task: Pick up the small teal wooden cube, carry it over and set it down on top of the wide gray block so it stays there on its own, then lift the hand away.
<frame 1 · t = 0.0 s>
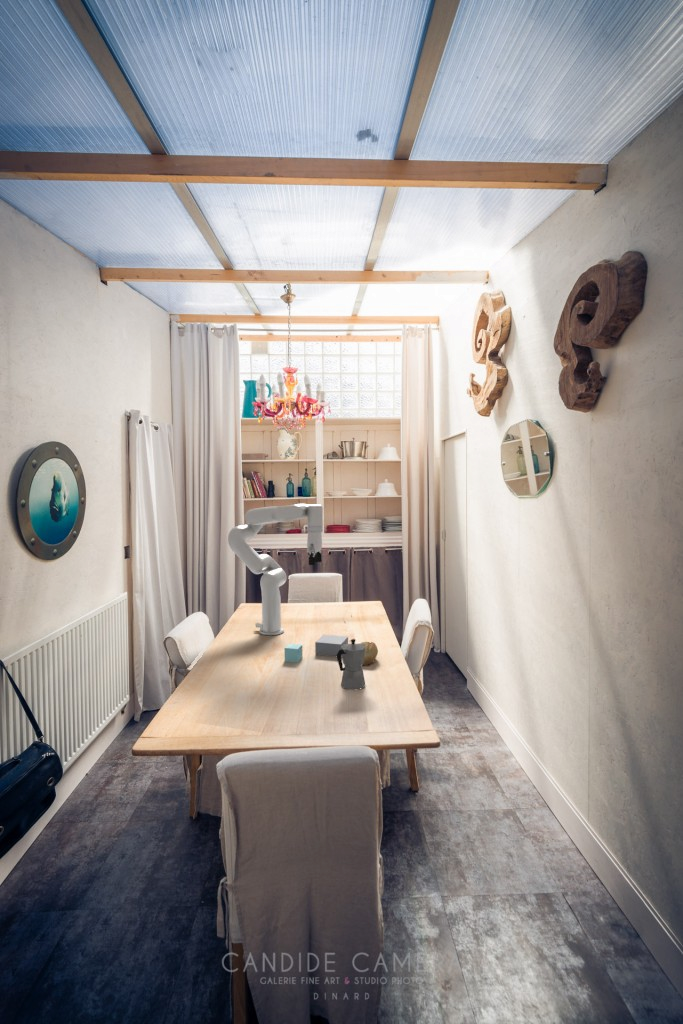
hand: (315, 563, 265), 37 cm above the table, tool pointing down, fingers open, 9 cm apart
teal cube: (293, 659, 233), on the table
coffeepot: (351, 686, 203), on the table
gray block: (332, 652, 244), on the table
bread roll: (366, 661, 232), on the table
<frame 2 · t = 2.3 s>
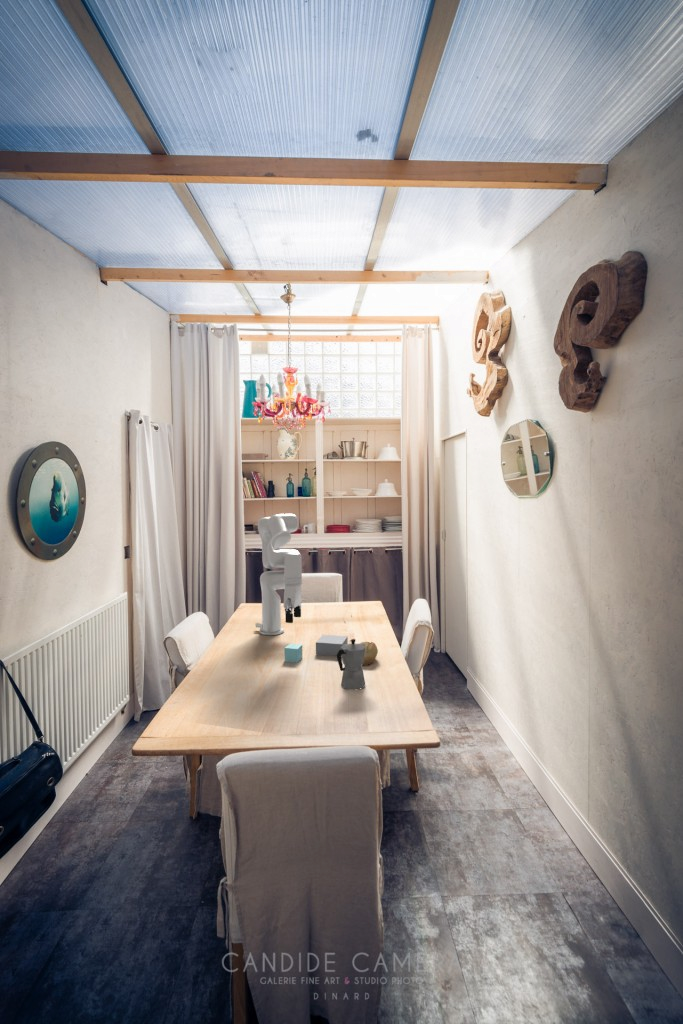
hand: (293, 619, 231), 18 cm above the table, tool pointing down, fingers open, 9 cm apart
nothing on the table moved.
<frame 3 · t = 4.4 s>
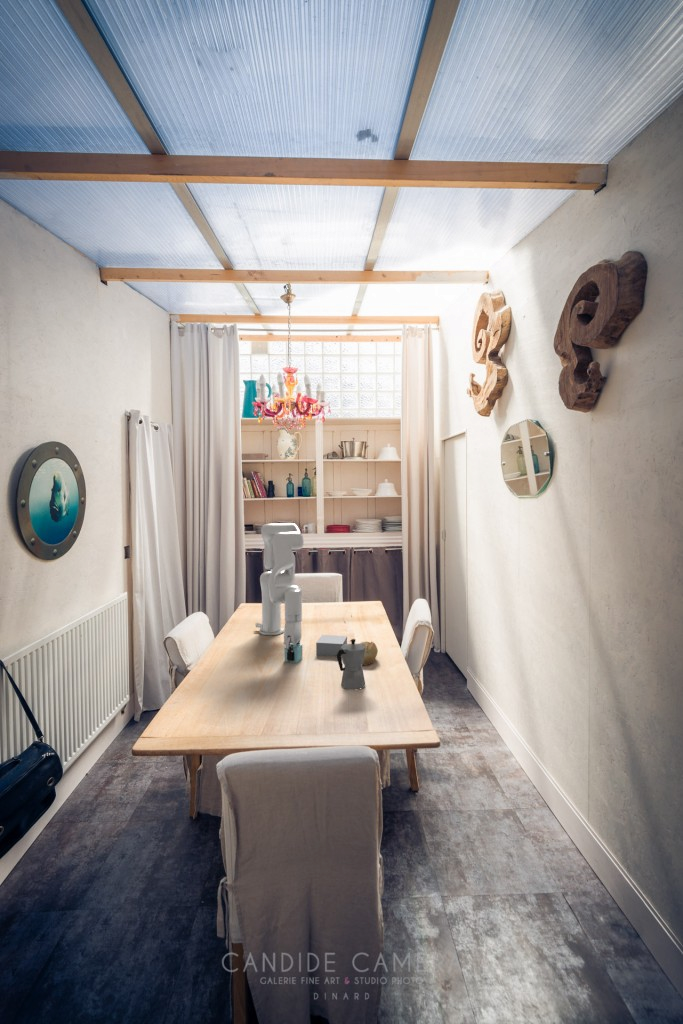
hand: (293, 657, 233), 1 cm above the table, tool pointing down, fingers closed on teal cube, 6 cm apart
teal cube: (293, 659, 233), on the table, touching gripper
everything else where it was.
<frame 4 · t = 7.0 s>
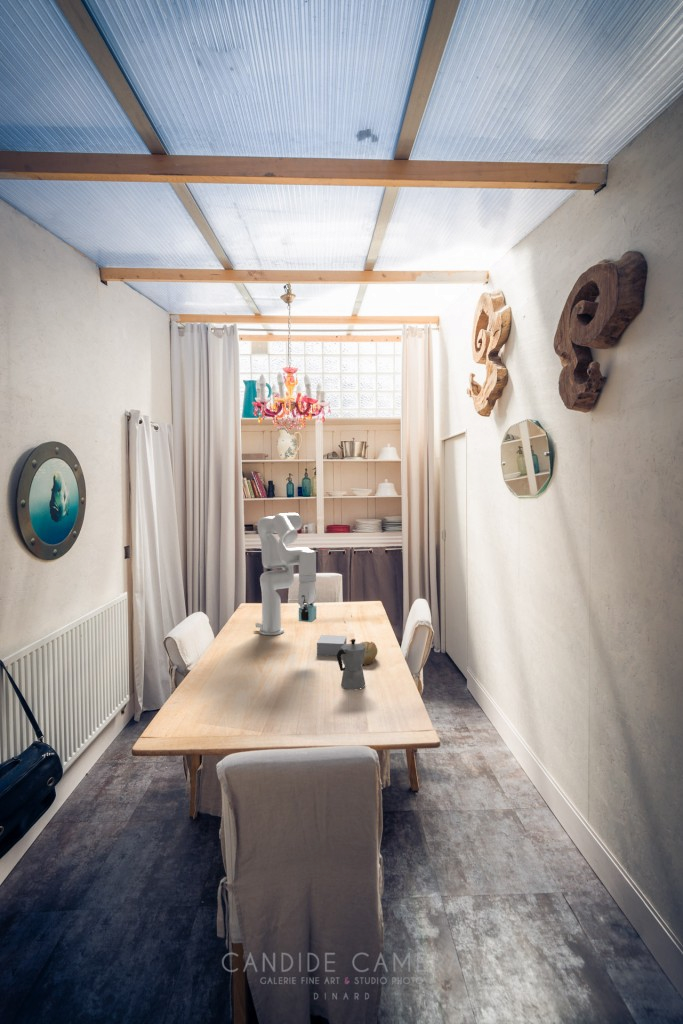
hand: (307, 618, 236), 17 cm above the table, tool pointing down, fingers closed on teal cube, 6 cm apart
teal cube: (307, 620, 236), point 16 cm above the table, touching gripper
everything else where it was.
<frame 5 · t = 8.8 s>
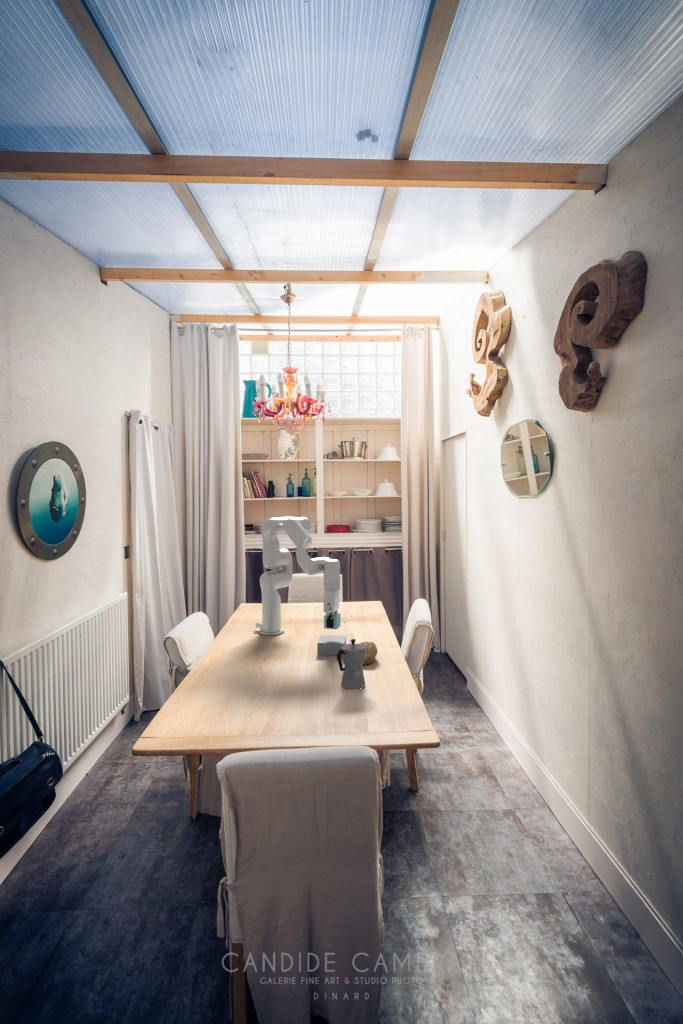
hand: (332, 625, 243), 12 cm above the table, tool pointing down, fingers closed on teal cube, 6 cm apart
teal cube: (332, 627, 243), point 11 cm above the table, touching gripper
everything else where it was.
when the fingers open (8 cm above the table, at t = 9.9 s): teal cube drops 2 cm, resting on gray block.
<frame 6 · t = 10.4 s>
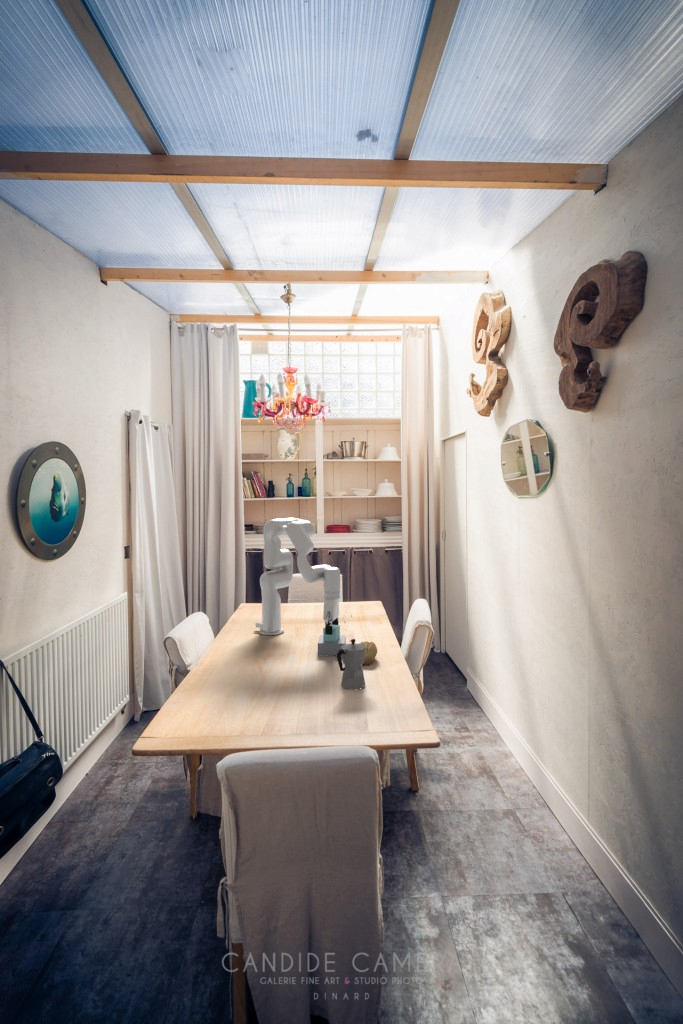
hand: (331, 631, 243), 9 cm above the table, tool pointing down, fingers open, 9 cm apart
teal cube: (331, 639, 243), point 6 cm above the table, touching gray block
gray block: (332, 652, 244), on the table, touching teal cube
everything else where it was.
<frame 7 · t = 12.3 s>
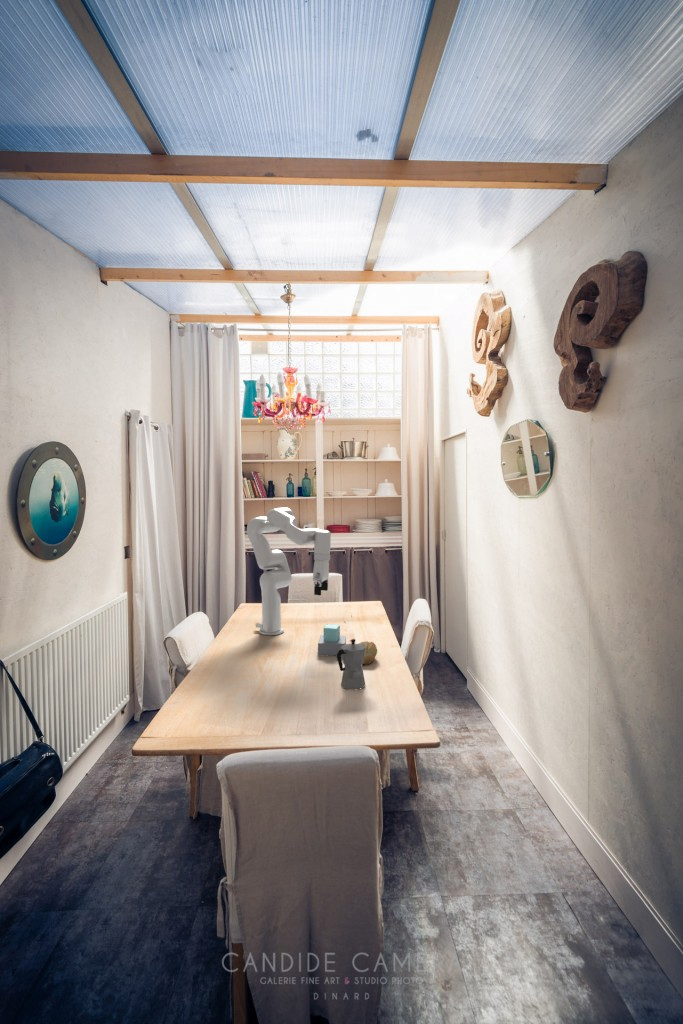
hand: (321, 592, 250), 25 cm above the table, tool pointing down, fingers open, 9 cm apart
nothing on the table moved.
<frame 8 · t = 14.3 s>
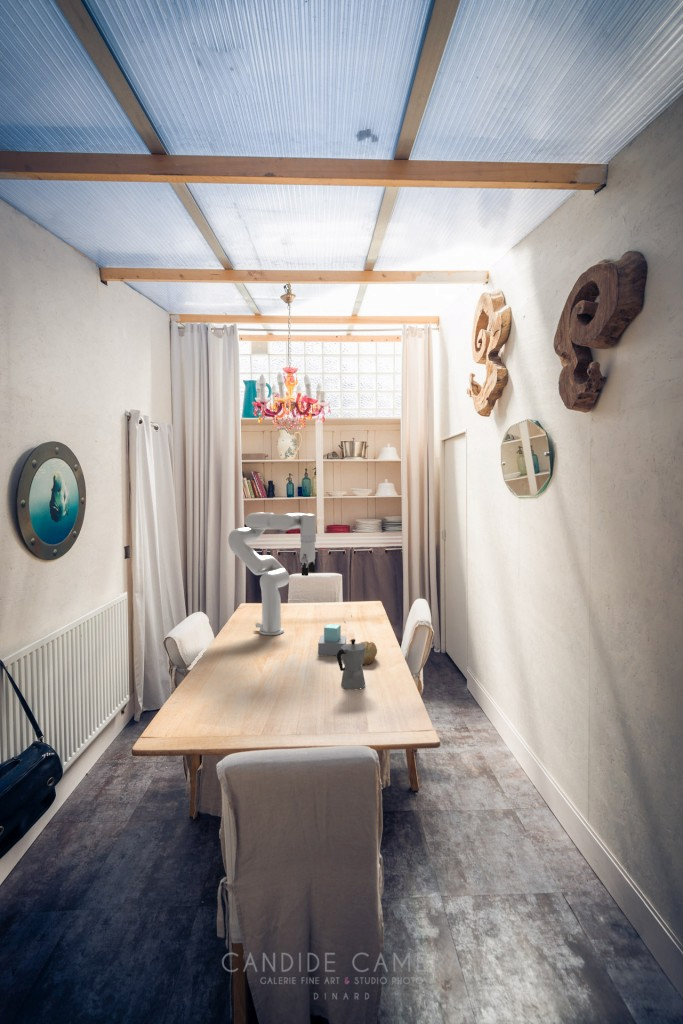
hand: (308, 573, 262), 32 cm above the table, tool pointing down, fingers open, 9 cm apart
nothing on the table moved.
at the end: teal cube inside the target area on the gray block (0.3 cm from its centre), point 6.0 cm above the gray block's base; teal cube tilted 0°; the gripper is holding nothing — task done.
